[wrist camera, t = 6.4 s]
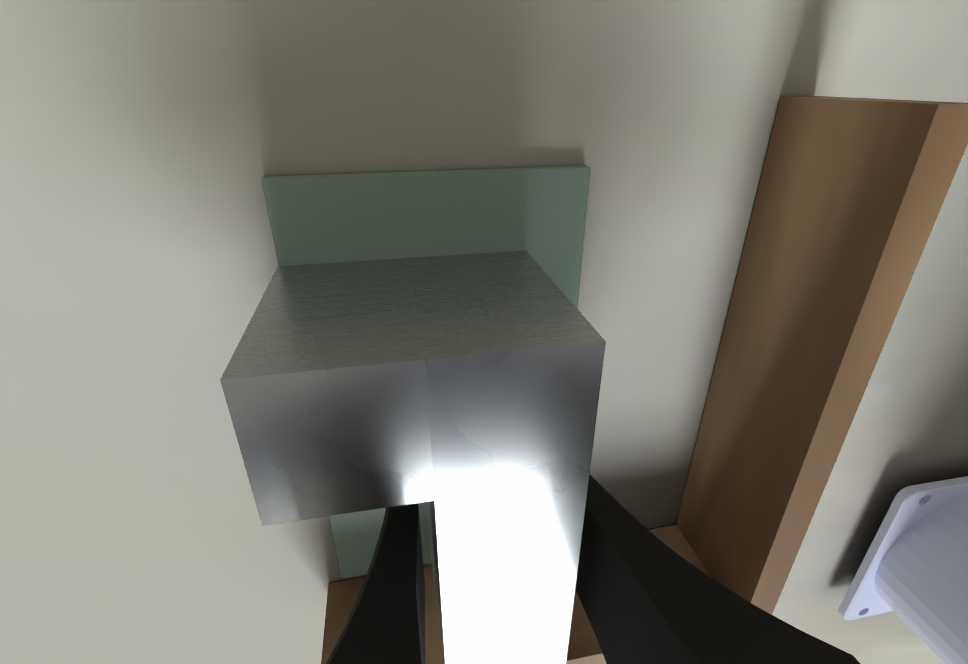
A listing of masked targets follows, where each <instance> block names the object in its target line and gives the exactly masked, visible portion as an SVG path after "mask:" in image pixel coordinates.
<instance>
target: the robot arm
mask: <svg viewBox="0 0 968 664" xmlns="http://www.w3.org/2000/svg"><path fill="white" fill-rule="evenodd" d="M575 590H576V592H577V594H578V596H579V599H580V601H581V603H582V606H583V608H584V610H585V613H586V615H587V617H588V620H589V622H590V624H591V626H592V629H593V631H594V633H595V636H596V638H597V640H598V643H599V645H600V648H601V651H602V653H603V656H604V658H605V661H606V664H860V663H859V662H858V661H857V660H856V658H855V657H854V656H853V655H851V654H849V653H846V652H844V651H842V650H840V649H838V648H836V647H834V646H832V645H830V644H828V643H826V642H823V641H821V640H819V639H817V638H815V637H813V636H811V635H809V634H807V633H805V632H803V631H801V630H799V629H797V628H795V627H793V626H791V625H789V624H787V623H786V622H784V621H782V620H780V619H778V618H776V617H775V616H773V615H771V614H769V613H767V612H765V611H764V610H762V609H760V608H759V607H757V606H755V605H753V604H752V603H750V602H748V601H747V600H745V599H744V598H742V597H740V596H739V595H737V594H736V593H734V592H732V591H731V590H729V589H728V588H726V587H724V586H723V585H721V584H720V583H718V582H717V581H715V580H714V579H712V578H711V577H709V576H708V575H706V574H705V573H703V572H702V571H700V570H699V569H698V568H696V567H695V566H694V565H692V564H691V563H689V562H688V561H687V560H685V559H684V558H683V557H681V556H680V555H679V554H677V553H676V552H675V551H673V550H672V549H671V548H670V547H668V546H667V545H666V544H665V543H664V542H662V541H661V540H660V539H659V538H658V537H656V536H655V535H654V534H653V533H652V532H650V531H649V530H648V529H647V528H646V527H645V526H643V525H642V524H641V523H640V522H639V521H638V520H637V519H636V518H635V517H634V516H632V515H631V514H630V513H629V512H628V511H627V510H626V509H625V508H624V507H623V506H622V505H620V504H619V503H618V502H617V501H616V500H615V499H614V498H613V497H612V496H611V495H610V494H609V493H608V492H607V491H606V490H605V489H604V488H603V487H602V486H601V485H600V484H599V483H598V482H597V481H596V480H595V479H594V478H593V477H592V476H591V475H590V474H589V481H588V489H587V497H586V505H585V513H584V522H583V530H582V538H581V546H580V554H579V562H578V570H577V578H576V587H575ZM890 611H894V612H895V613H896V614H897V615H898V616H899V617H900V618H901V619H902V620H903V621H904V622H905V623H906V624H907V625H908V626H909V627H910V628H911V629H912V630H913V632H914V633H915V634H916V635H917V636H918V637H919V638H920V639H921V640H922V641H923V642H924V643H925V644H926V645H927V646H928V647H929V648H930V649H931V650H932V651H933V652H934V653H935V654H936V655H937V656H938V657H939V658H940V659H941V660H942V661H943V662H944V664H968V476H965V477H959V478H953V479H947V480H941V481H935V482H929V483H924V484H918V485H912V486H907V487H905V488H903V489H901V490H900V491H899V492H898V493H897V495H896V496H895V498H894V500H893V502H892V504H891V506H890V508H889V510H888V512H887V514H886V516H885V518H884V520H883V522H882V524H881V526H880V528H879V530H878V532H877V534H876V535H875V537H874V539H873V541H872V543H871V545H870V547H869V549H868V551H867V553H866V555H865V557H864V559H863V561H862V563H861V565H860V567H859V569H858V571H857V573H856V575H855V577H854V579H853V581H852V583H851V585H850V587H849V589H848V591H847V593H846V595H845V597H844V599H843V601H842V603H841V605H840V606H839V609H838V612H839V613H840V614H841V616H842V617H843V618H844V619H846V620H853V619H858V618H863V617H867V616H872V615H876V614H881V613H886V612H890ZM326 664H425V578H424V566H423V554H422V542H421V530H420V519H419V507H418V503H414V504H407V505H400V506H393V507H387V508H386V510H385V515H384V520H383V524H382V527H381V531H380V535H379V538H378V542H377V545H376V548H375V551H374V554H373V557H372V561H371V563H370V566H369V569H368V572H367V574H366V577H365V579H364V582H363V585H362V587H361V590H360V592H359V595H358V597H357V600H356V602H355V605H354V607H353V609H352V612H351V614H350V616H349V618H348V620H347V623H346V625H345V627H344V629H343V631H342V633H341V635H340V637H339V639H338V641H337V643H336V645H335V647H334V649H333V651H332V653H331V655H330V657H329V659H328V661H327V663H326Z"/></svg>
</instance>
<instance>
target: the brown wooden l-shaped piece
mask: <svg viewBox="0 0 968 664" xmlns="http://www.w3.org/2000/svg"><path fill="white" fill-rule="evenodd" d="M967 144H968V103H956V102H934V101H912V100H890V99H868V98H846V97H824V96H781V97H780V102H779V106H778V110H777V114H776V118H775V122H774V126H773V130H772V134H771V138H770V143H769V147H768V151H767V155H766V159H765V163H764V167H763V171H762V175H761V179H760V183H759V188H758V192H757V196H756V200H755V204H754V208H753V212H752V216H751V220H750V224H749V228H748V233H747V237H746V241H745V245H744V249H743V253H742V257H741V261H740V265H739V269H738V274H737V278H736V282H735V286H734V290H733V294H732V298H731V302H730V306H729V310H728V314H727V319H726V323H725V327H724V331H723V335H722V339H721V343H720V347H719V351H718V355H717V359H716V364H715V368H714V372H713V376H712V380H711V384H710V388H709V392H708V396H707V400H706V405H705V409H704V413H703V417H702V421H701V425H700V429H699V433H698V437H697V441H696V445H695V450H694V454H693V458H692V462H691V466H690V470H689V474H688V478H687V482H686V486H685V490H684V495H683V499H682V503H681V507H680V511H679V515H678V519H677V523H676V525H672V526H666V527H660V528H655V529H649V531H650V532H652V533H653V534H654V535H655V536H656V537H658V538H659V539H660V540H661V541H662V542H664V543H665V544H666V545H667V546H668V547H670V548H671V549H672V550H673V551H675V552H676V553H677V554H679V555H680V556H681V557H683V558H684V559H685V560H687V561H688V562H689V563H691V564H692V565H694V566H695V567H696V568H698V569H699V570H700V571H702V572H703V573H705V574H706V575H708V576H709V577H711V578H712V579H714V580H715V581H717V582H718V583H720V584H721V585H723V586H724V587H726V588H728V589H729V590H731V591H732V592H734V593H736V594H737V595H739V596H740V597H742V598H744V599H745V600H747V601H748V602H750V603H752V604H753V605H755V606H757V607H759V608H760V609H762V610H764V611H765V612H767V613H769V614H771V615H772V613H773V611H774V609H775V606H776V604H777V601H778V599H779V597H780V594H781V592H782V589H783V587H784V584H785V582H786V580H787V577H788V575H789V572H790V570H791V568H792V565H793V563H794V560H795V558H796V556H797V553H798V551H799V548H800V546H801V544H802V541H803V539H804V536H805V534H806V531H807V529H808V527H809V524H810V522H811V519H812V517H813V515H814V512H815V510H816V507H817V505H818V503H819V500H820V498H821V495H822V493H823V491H824V488H825V486H826V483H827V481H828V478H829V476H830V474H831V471H832V469H833V466H834V464H835V462H836V459H837V457H838V454H839V452H840V450H841V447H842V445H843V442H844V440H845V438H846V435H847V433H848V430H849V428H850V425H851V423H852V421H853V418H854V416H855V413H856V411H857V409H858V406H859V404H860V401H861V399H862V397H863V394H864V392H865V389H866V387H867V385H868V382H869V380H870V377H871V375H872V372H873V370H874V368H875V365H876V363H877V360H878V358H879V356H880V353H881V351H882V348H883V346H884V344H885V341H886V339H887V336H888V334H889V332H890V329H891V327H892V324H893V322H894V319H895V317H896V315H897V312H898V310H899V307H900V305H901V303H902V300H903V298H904V295H905V293H906V291H907V288H908V286H909V283H910V281H911V279H912V276H913V274H914V271H915V269H916V266H917V264H918V262H919V259H920V257H921V254H922V252H923V250H924V247H925V245H926V242H927V240H928V238H929V235H930V233H931V230H932V228H933V226H934V223H935V221H936V218H937V216H938V213H939V211H940V209H941V206H942V204H943V201H944V199H945V197H946V194H947V192H948V189H949V187H950V185H951V182H952V180H953V177H954V175H955V173H956V170H957V168H958V165H959V163H960V160H961V158H962V156H963V153H964V151H965V148H966V146H967ZM424 578H425V664H443V658H442V650H441V641H440V633H439V624H438V615H437V607H436V598H435V589H434V581H433V572H432V566H428V567H424ZM364 579H365V577H362V578H356V579H351V580H345V581H339V582H333V583H329V584H328V595H327V606H326V617H325V628H324V639H323V650H322V661H321V664H326V663H327V661H328V659H329V657H330V655H331V653H332V651H333V649H334V647H335V645H336V643H337V641H338V639H339V637H340V635H341V633H342V631H343V629H344V627H345V625H346V623H347V620H348V618H349V616H350V614H351V612H352V609H353V607H354V605H355V602H356V600H357V597H358V595H359V592H360V590H361V587H362V585H363V582H364ZM566 664H606V661H605V658H604V656H603V653H602V651H601V648H600V645H599V643H598V640H597V638H596V636H595V633H594V631H593V629H592V626H591V624H590V622H589V620H588V617H587V615H586V613H585V610H584V608H583V606H582V603H581V601H580V599H579V596H578V594H577V592H576V590H575V595H574V603H573V611H572V619H571V627H570V635H569V644H568V652H567V660H566Z"/></svg>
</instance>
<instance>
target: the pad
mask: <svg viewBox="0 0 968 664" xmlns="http://www.w3.org/2000/svg"><path fill="white" fill-rule="evenodd" d="M589 175H590V167H588V166H586V165H585V166H555V167H526V168H496V169H466V170H437V171H407V172H378V173H348V174H319V175H289V176H264V177H263V178H262V183H263V189H264V194H265V199H266V204H267V209H268V214H269V219H270V224H271V229H272V234H273V239H274V244H275V249H276V254H277V259H278V264H279V266H289V265H304V264H320V263H336V262H351V261H367V260H382V259H398V258H413V257H429V256H444V255H460V254H475V253H491V252H506V251H522V250H526V251H527V252H528V253H529V254H530V255H531V256H532V257H533V259H534V260H535V261H536V262H537V263H538V264H539V266H540V267H541V268H542V269H543V270H544V271H545V272H546V274H547V275H548V276H549V277H550V278H551V279H552V280H553V282H554V283H555V284H556V285H557V286H558V287H559V289H560V290H561V291H562V292H563V293H564V294H565V295H566V297H567V298H568V299H569V300H570V301H571V302H572V304H573V305H574V306H575V307H576V308H577V305H578V294H579V284H580V273H581V262H582V251H583V240H584V229H585V218H586V207H587V196H588V186H589ZM418 507H419V519H420V530H421V542H422V554H423V565H426V564H431V555H430V546H429V535H428V522H427V509H426V502H421V503H418ZM385 510H386V508H380V509H373V510H366V511H359V512H353V513H346V514H339V515H332V516H329V520H330V525H331V530H332V535H333V540H334V545H335V550H336V555H337V560H338V565H339V570H340V575H341V579H342V578H348V577H354V576H360V575H366V574H367V572H368V569H369V566H370V563H371V561H372V557H373V554H374V551H375V548H376V545H377V542H378V538H379V535H380V531H381V527H382V524H383V520H384V515H385Z"/></svg>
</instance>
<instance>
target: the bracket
mask: <svg viewBox="0 0 968 664" xmlns="http://www.w3.org/2000/svg"><path fill="white" fill-rule="evenodd" d="M605 343H606V342H605V340H604V339H603V338H602V337H601V336H600V335H599V333H598V332H597V331H596V330H595V329H594V328H593V327H592V325H591V324H590V323H589V322H588V321H587V320H586V319H585V317H584V316H583V315H582V314H581V313H580V312H579V310H578V309H577V308H576V307H575V306H574V305H573V304H572V302H571V301H570V300H569V299H568V298H567V297H566V295H565V294H564V293H563V292H562V291H561V290H560V289H559V287H558V286H557V285H556V284H555V283H554V282H553V280H552V279H551V278H550V277H549V276H548V275H547V274H546V272H545V271H544V270H543V269H542V268H541V267H540V266H539V264H538V263H537V262H536V261H535V260H534V259H533V257H532V256H531V255H530V254H529V253H528V252H527V251H526V250H522V251H506V252H491V253H475V254H460V255H444V256H429V257H413V258H398V259H382V260H367V261H351V262H336V263H320V264H304V265H289V266H278V267H277V269H276V271H275V273H274V275H273V277H272V279H271V281H270V283H269V285H268V287H267V289H266V291H265V293H264V295H263V297H262V299H261V301H260V303H259V305H258V307H257V309H256V311H255V313H254V315H253V316H252V318H251V320H250V322H249V324H248V326H247V328H246V330H245V332H244V334H243V336H242V338H241V340H240V342H239V344H238V346H237V348H236V350H235V352H234V354H233V356H232V358H231V360H230V362H229V364H228V366H227V368H226V369H225V371H224V373H223V375H222V377H221V379H220V381H221V384H222V388H223V391H224V395H225V398H226V402H227V405H228V408H229V412H230V415H231V419H232V422H233V426H234V429H235V433H236V436H237V440H238V443H239V447H240V450H241V453H242V457H243V460H244V464H245V467H246V471H247V474H248V478H249V481H250V485H251V488H252V491H253V495H254V498H255V502H256V505H257V509H258V512H259V516H260V519H261V523H262V526H264V525H271V524H278V523H284V522H291V521H298V520H305V519H312V518H318V517H325V516H332V515H339V514H346V513H353V512H359V511H366V510H373V509H380V508H387V507H393V506H400V505H407V504H414V503H421V502H426V509H427V522H428V535H429V546H430V555H431V564H432V572H433V581H434V589H435V598H436V607H437V615H438V624H439V633H440V641H441V650H442V658H443V664H566V660H567V652H568V644H569V635H570V627H571V619H572V611H573V603H574V595H575V587H576V578H577V570H578V562H579V554H580V546H581V538H582V530H583V522H584V513H585V505H586V497H587V489H588V481H589V473H590V465H591V457H592V448H593V440H594V432H595V424H596V416H597V408H598V400H599V392H600V383H601V375H602V367H603V359H604V351H605Z"/></svg>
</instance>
